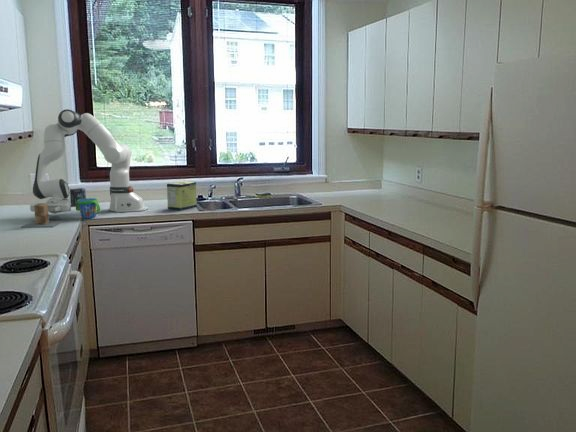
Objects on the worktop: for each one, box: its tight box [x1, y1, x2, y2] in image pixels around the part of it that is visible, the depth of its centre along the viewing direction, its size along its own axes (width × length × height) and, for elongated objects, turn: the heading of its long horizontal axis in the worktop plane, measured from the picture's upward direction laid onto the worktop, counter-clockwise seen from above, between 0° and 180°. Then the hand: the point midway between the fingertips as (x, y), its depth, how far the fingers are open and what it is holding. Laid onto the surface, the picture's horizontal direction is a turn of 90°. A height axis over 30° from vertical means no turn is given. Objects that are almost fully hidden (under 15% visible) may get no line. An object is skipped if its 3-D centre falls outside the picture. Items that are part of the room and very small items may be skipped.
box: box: [69, 187, 87, 208], centre depth 354 cm, size 8×6×11 cm
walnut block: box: [34, 204, 50, 225], centre depth 294 cm, size 5×5×10 cm
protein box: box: [166, 180, 198, 211], centre depth 343 cm, size 10×16×16 cm
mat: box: [21, 220, 63, 229], centre depth 295 cm, size 16×14×1 cm
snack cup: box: [75, 197, 101, 219], centre depth 313 cm, size 16×10×10 cm
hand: (45, 209), depth 298 cm, fingers open, 8 cm apart
